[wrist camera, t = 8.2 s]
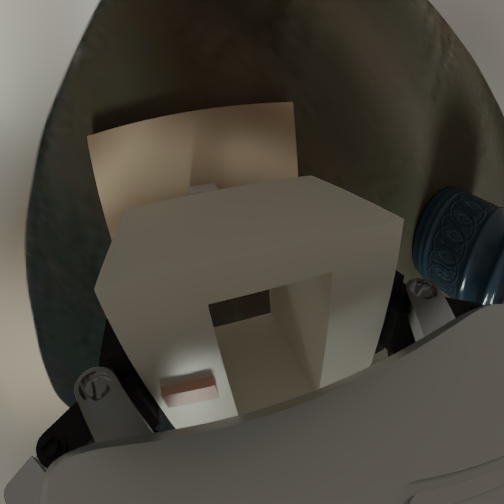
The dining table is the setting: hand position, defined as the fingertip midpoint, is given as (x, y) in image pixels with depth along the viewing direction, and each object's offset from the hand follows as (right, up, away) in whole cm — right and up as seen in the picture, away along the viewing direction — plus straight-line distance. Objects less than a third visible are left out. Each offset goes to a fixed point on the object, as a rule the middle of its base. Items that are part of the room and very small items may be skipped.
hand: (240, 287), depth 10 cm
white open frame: (0, +1, +1) cm, 1 cm away
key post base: (-3, +5, +10) cm, 11 cm away
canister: (+25, +4, +20) cm, 32 cm away
